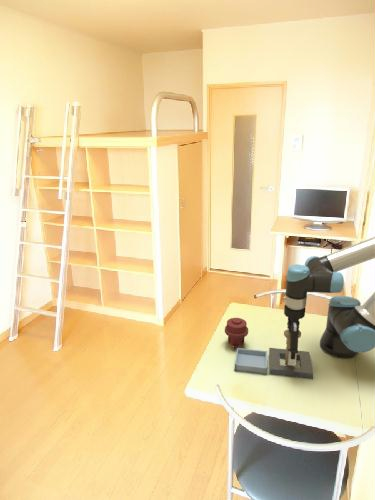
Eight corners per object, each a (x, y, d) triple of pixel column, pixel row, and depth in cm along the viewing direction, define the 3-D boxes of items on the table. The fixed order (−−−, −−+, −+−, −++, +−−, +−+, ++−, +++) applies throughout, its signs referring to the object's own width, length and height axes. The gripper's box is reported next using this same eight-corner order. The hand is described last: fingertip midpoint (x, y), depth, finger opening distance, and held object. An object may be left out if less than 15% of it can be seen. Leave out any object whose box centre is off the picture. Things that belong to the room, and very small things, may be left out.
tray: (266, 357, 145) (267, 351, 144) (266, 374, 135) (267, 368, 134) (236, 354, 148) (237, 347, 147) (234, 371, 137) (234, 364, 136)
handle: (300, 368, 138) (303, 335, 134) (284, 370, 138) (287, 336, 133) (294, 360, 143) (297, 328, 138) (279, 362, 142) (282, 329, 137)
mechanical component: (248, 339, 158) (247, 353, 148) (225, 337, 160) (223, 350, 150) (249, 315, 154) (248, 327, 144) (226, 313, 156) (223, 325, 146)
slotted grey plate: (308, 356, 145) (309, 351, 144) (312, 379, 132) (313, 373, 131) (268, 352, 148) (269, 347, 147) (269, 374, 135) (269, 368, 135)
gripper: (283, 290, 144) (279, 335, 151) (286, 321, 121) (282, 373, 128) (302, 291, 142) (298, 337, 149) (309, 323, 119) (303, 375, 126)
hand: (290, 354), depth 139 cm, fingers open, 13 cm apart
